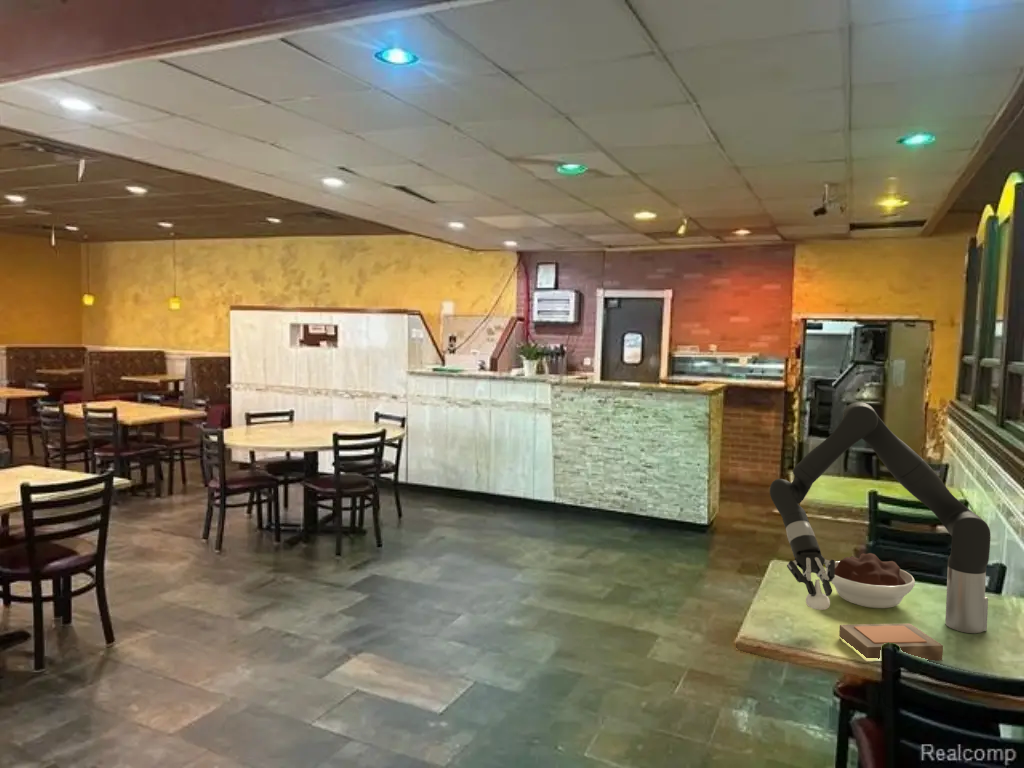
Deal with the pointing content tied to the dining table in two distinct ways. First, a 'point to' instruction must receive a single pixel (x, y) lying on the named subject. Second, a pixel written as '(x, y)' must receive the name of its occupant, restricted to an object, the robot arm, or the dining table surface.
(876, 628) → the mat
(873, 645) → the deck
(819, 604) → the garlic bulb
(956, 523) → the robot arm
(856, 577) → the bowl of brown food
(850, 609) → the dining table surface
